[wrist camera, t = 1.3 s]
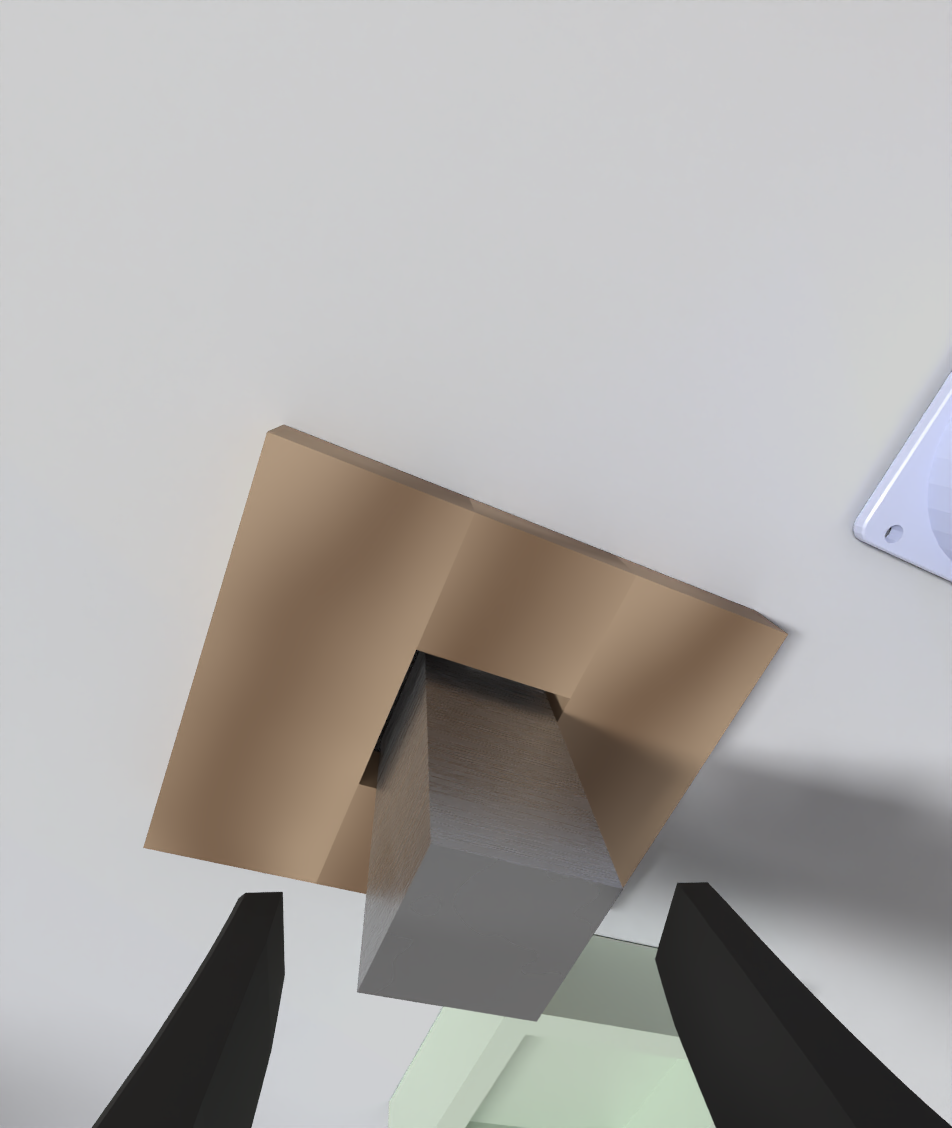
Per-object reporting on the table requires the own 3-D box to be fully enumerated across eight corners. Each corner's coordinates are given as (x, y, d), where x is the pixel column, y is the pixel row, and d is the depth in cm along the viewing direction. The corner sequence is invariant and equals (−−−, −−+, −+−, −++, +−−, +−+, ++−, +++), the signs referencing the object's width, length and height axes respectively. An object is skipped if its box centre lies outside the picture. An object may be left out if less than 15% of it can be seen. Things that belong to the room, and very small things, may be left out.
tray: (746, 967, 22) (795, 1056, 19) (618, 1129, 25) (644, 1227, 22) (496, 914, 19) (509, 1008, 16) (389, 1102, 22) (385, 1208, 19)
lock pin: (538, 676, 16) (622, 888, 9) (490, 770, 17) (537, 1021, 10) (424, 638, 15) (430, 843, 9) (381, 739, 16) (357, 991, 10)
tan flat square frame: (755, 610, 16) (788, 634, 15) (576, 898, 19) (589, 940, 18) (283, 424, 13) (267, 431, 11) (167, 805, 16) (143, 847, 15)
